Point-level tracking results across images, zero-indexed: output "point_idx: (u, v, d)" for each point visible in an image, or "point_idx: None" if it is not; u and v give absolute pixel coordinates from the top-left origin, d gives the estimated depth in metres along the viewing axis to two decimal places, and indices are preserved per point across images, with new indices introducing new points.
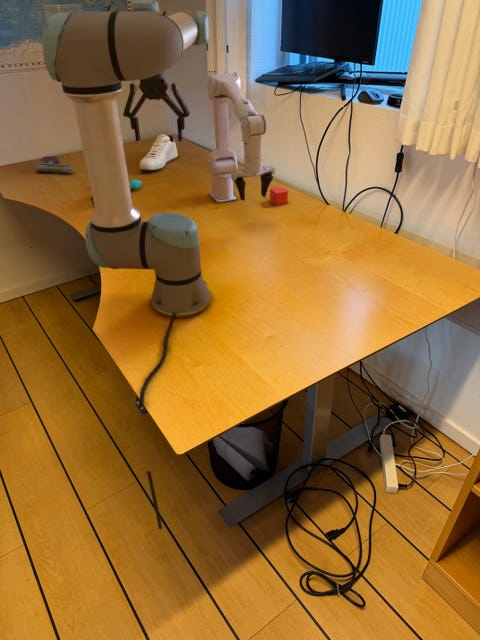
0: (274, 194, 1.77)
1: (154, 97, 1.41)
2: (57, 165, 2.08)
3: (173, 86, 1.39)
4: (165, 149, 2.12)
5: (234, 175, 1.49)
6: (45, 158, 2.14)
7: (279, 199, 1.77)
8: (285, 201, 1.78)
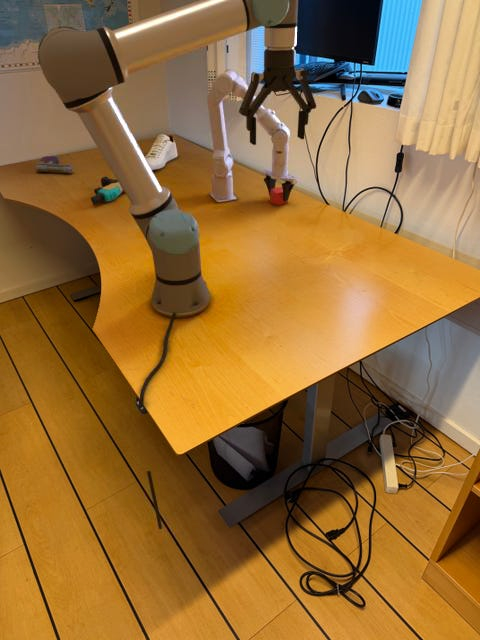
0: (274, 194, 1.77)
1: (281, 88, 1.16)
2: (57, 165, 2.08)
3: (304, 73, 1.16)
4: (165, 149, 2.12)
5: (263, 171, 1.77)
6: (45, 158, 2.14)
7: (279, 199, 1.77)
8: (285, 201, 1.78)
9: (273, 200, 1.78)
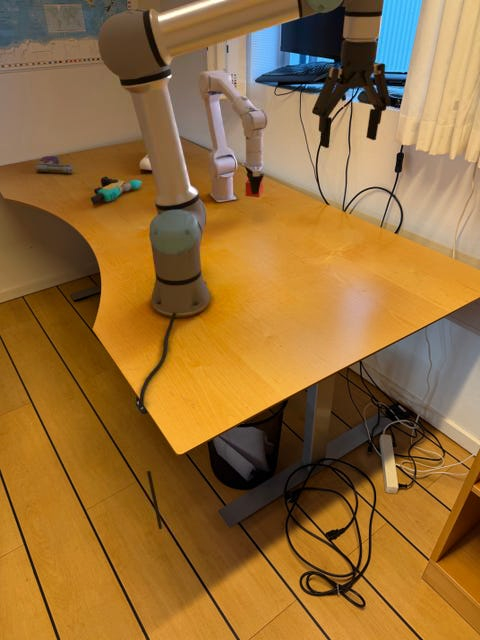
0: None
1: (358, 84, 1.05)
2: (57, 165, 2.08)
3: (383, 67, 1.05)
4: None
5: None
6: (45, 158, 2.14)
7: (249, 191, 1.63)
8: (256, 195, 1.63)
9: None
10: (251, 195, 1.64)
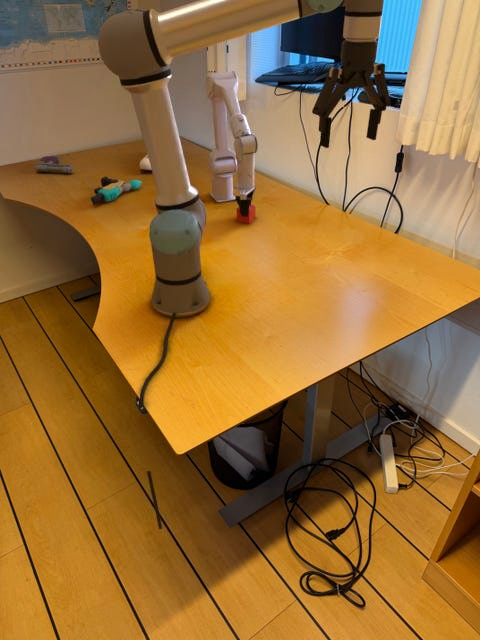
0: None
1: (358, 84, 1.05)
2: (57, 165, 2.08)
3: (383, 67, 1.05)
4: None
5: None
6: (45, 158, 2.14)
7: (240, 216, 1.65)
8: (247, 221, 1.65)
9: None
10: (242, 221, 1.66)
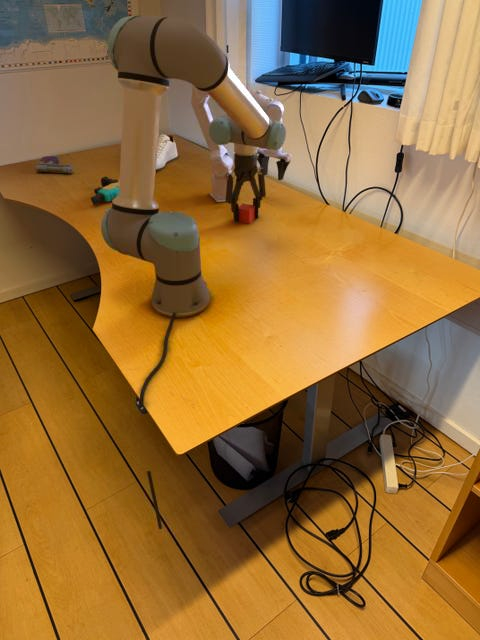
0: None
1: (247, 179, 1.58)
2: (57, 165, 2.08)
3: (263, 171, 1.59)
4: (165, 149, 2.12)
5: (257, 149, 1.73)
6: (45, 158, 2.14)
7: (240, 216, 1.65)
8: (247, 221, 1.65)
9: None
10: (242, 221, 1.66)
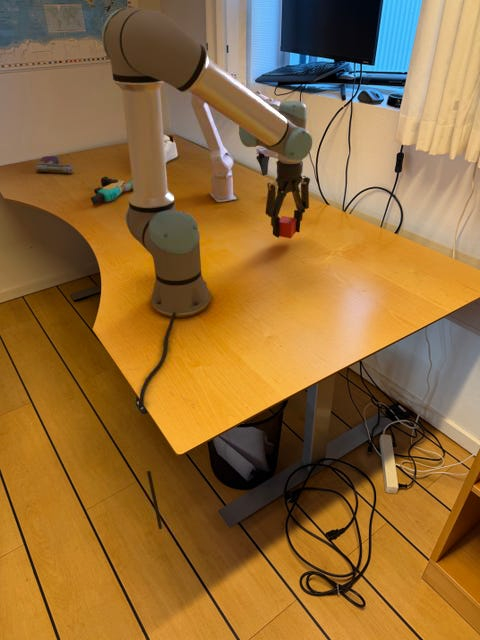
0: None
1: (290, 190, 1.41)
2: (57, 165, 2.08)
3: (308, 180, 1.42)
4: (165, 149, 2.12)
5: (257, 149, 1.73)
6: (45, 158, 2.14)
7: (280, 231, 1.48)
8: (288, 235, 1.48)
9: None
10: (282, 235, 1.49)
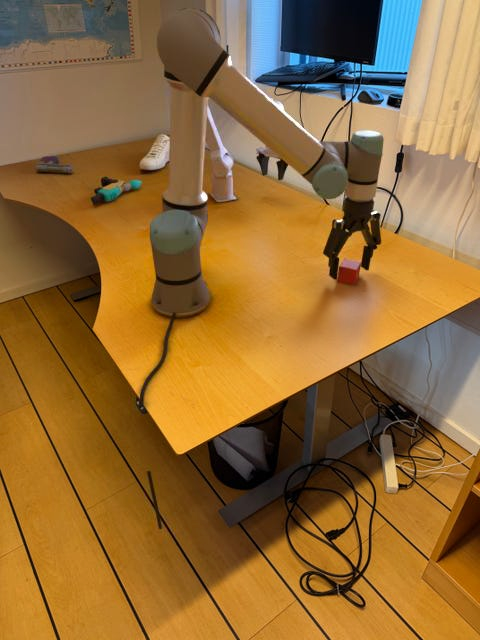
0: None
1: (358, 229, 1.24)
2: (57, 165, 2.08)
3: (378, 216, 1.25)
4: (165, 149, 2.12)
5: (257, 149, 1.73)
6: (45, 158, 2.14)
7: (343, 276, 1.32)
8: (351, 281, 1.31)
9: None
10: (345, 281, 1.32)
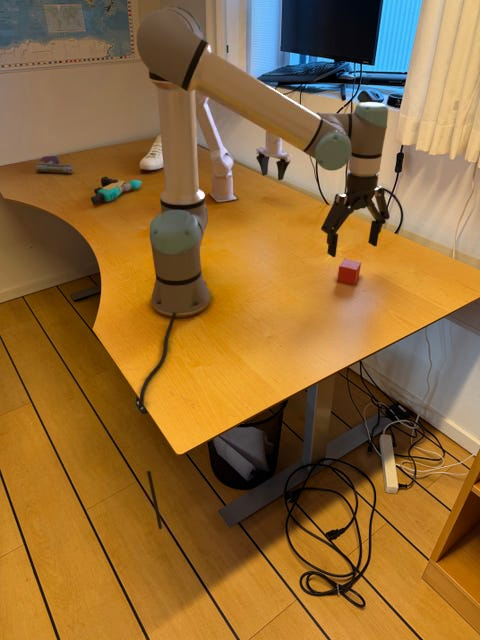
0: None
1: (361, 206, 1.21)
2: (57, 165, 2.08)
3: (383, 191, 1.21)
4: None
5: (257, 149, 1.73)
6: (45, 158, 2.14)
7: (343, 276, 1.32)
8: (351, 281, 1.31)
9: None
10: (345, 281, 1.32)
